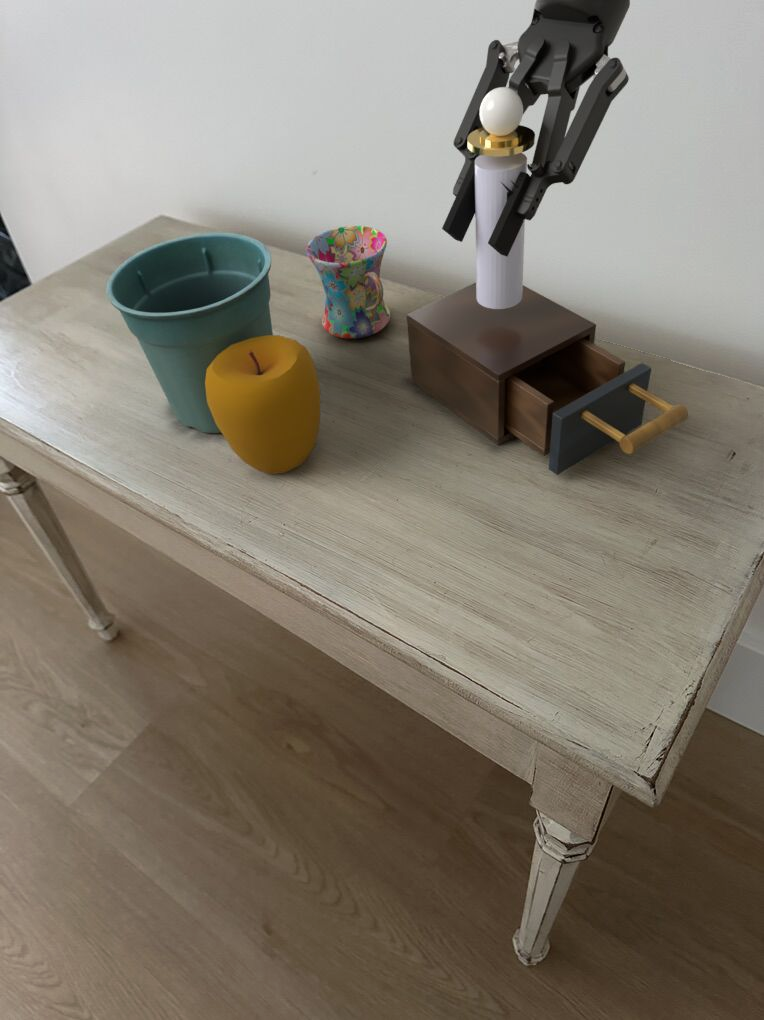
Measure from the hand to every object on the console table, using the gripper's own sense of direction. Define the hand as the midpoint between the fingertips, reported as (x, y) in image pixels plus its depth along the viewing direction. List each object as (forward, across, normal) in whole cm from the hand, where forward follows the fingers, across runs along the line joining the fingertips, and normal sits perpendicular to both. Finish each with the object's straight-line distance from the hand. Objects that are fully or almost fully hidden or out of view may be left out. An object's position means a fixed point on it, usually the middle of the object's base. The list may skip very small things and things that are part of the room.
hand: (474, 242), depth 72 cm
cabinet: (+10, 0, -16) cm, 19 cm away
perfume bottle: (+3, 0, -9) cm, 9 cm away
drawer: (+11, -11, -13) cm, 21 cm away
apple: (+26, +11, 0) cm, 28 cm away
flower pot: (+24, +23, -2) cm, 34 cm away
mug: (+11, +21, -16) cm, 28 cm away
